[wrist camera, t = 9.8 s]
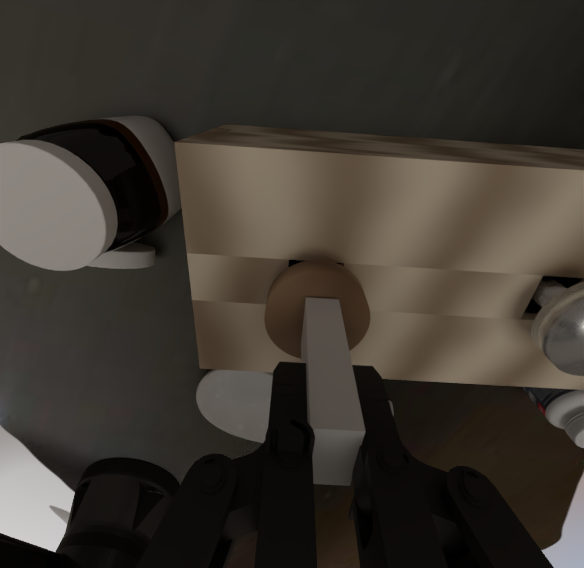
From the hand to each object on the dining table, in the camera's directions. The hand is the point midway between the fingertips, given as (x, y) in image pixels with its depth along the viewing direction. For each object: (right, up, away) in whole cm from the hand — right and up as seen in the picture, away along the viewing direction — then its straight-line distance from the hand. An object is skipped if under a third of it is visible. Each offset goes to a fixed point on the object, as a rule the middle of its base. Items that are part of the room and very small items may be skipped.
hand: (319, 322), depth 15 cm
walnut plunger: (0, +7, +12) cm, 14 cm away
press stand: (+7, +7, +14) cm, 17 cm away
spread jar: (-15, +10, +13) cm, 22 cm away
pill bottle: (+27, -8, +22) cm, 36 cm away
